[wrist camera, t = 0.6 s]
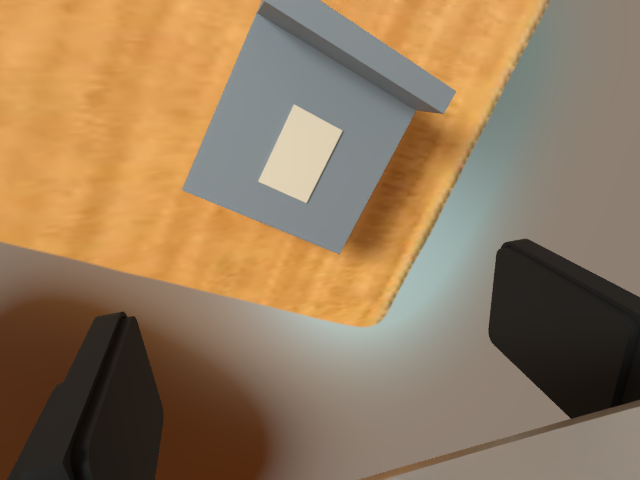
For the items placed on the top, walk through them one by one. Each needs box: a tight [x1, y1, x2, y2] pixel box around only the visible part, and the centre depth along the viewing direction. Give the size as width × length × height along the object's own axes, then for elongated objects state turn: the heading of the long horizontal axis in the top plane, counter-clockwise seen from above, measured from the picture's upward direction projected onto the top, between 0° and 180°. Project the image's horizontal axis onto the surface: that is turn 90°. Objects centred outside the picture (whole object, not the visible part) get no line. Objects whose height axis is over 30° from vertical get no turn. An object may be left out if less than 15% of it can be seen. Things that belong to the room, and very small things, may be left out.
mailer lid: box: [182, 0, 456, 254], centre depth 28 cm, size 15×13×5 cm
